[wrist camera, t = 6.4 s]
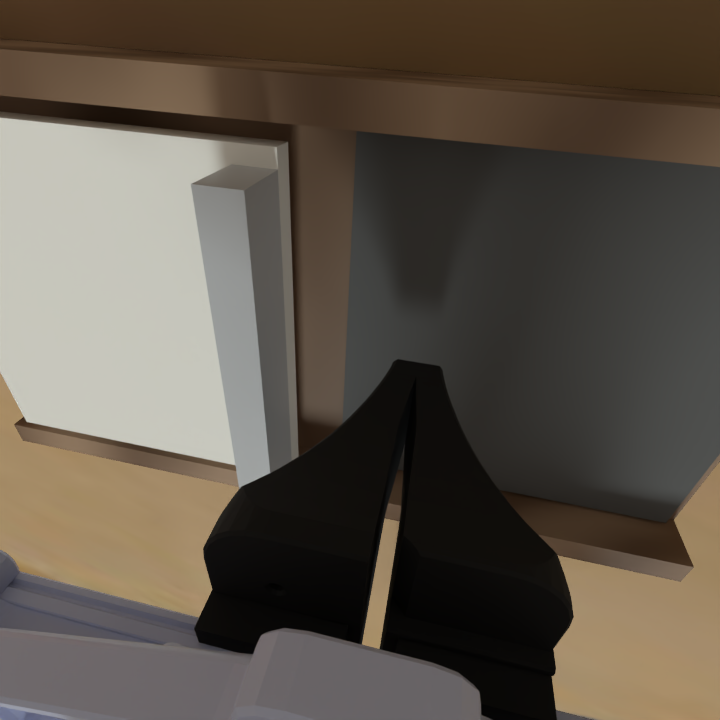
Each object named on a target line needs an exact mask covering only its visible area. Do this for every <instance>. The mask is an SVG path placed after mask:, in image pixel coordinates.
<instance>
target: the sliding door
mask: <svg viewBox="0 0 720 720" xmlns="http://www.w3.org/2000/svg"><path fill="white" fill-rule="evenodd" d="M0 372H1V374H2V376H3V378H4V380H5V382H6V384H7V386H8V387H9V389H10V391H11V393H12V395H13V397H14V399H15V401H16V403H17V405H18V406H19V408H20V410H21V412H22V414H23V416H24V418H25V420H26V422H30V423H35V424H39V425H44V426H49V427H54V428H59V429H63V430H68V431H73V432H78V433H83V434H88V435H92V436H97V437H102V438H107V439H112V440H116V441H121V442H126V443H131V444H136V445H140V446H145V447H150V448H155V449H160V450H164V451H169V452H174V453H179V454H184V455H188V456H193V457H198V458H203V459H208V460H212V461H217V462H222V463H227V464H232V465H235V466H236V472H237V478H238V484H239V489H240V488H241V487H242V486H244V485H246V484H248V483H250V482H253V481H255V480H257V479H259V478H261V477H263V476H265V475H267V474H269V473H271V472H273V471H275V470H277V469H279V468H280V467H282V466H284V465H285V464H287V463H289V462H290V461H292V460H294V459H295V458H297V457H299V454H298V424H297V395H296V365H295V335H294V306H293V276H292V246H291V217H290V187H289V158H288V142H287V141H278V140H268V139H259V138H249V137H239V136H230V135H220V134H211V133H201V132H192V131H182V130H173V129H163V128H153V127H144V126H134V125H125V124H115V123H106V122H96V121H87V120H77V119H67V118H58V117H48V116H39V115H29V114H20V113H10V112H1V111H0Z"/></svg>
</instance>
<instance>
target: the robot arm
mask: <svg viewBox="0 0 720 720" xmlns="http://www.w3.org/2000/svg"><path fill="white" fill-rule="evenodd" d="M404 446H405V448H404ZM403 449H404V464H403V481H402V498H401V513H400V523H399V530H398V536H397V543H396V549H395V556H394V562H393V568H392V575H391V581H390V587H389V594H388V600H387V606H386V613H385V619H384V625H383V632H382V638H381V644H380V649H377V648H373V647H369V646H365V645H362V640H363V634H364V628H365V623H366V617H367V612H368V606H369V600H370V595H371V589H372V584H373V578H374V572H375V567H376V561H377V556H378V550H379V545H380V539H381V534H382V528H383V523H384V518H385V514H386V510H387V506H388V502H389V499H390V495H391V492H392V488H393V485H394V481H395V478H396V474H397V471H398V467H399V463H400V460H401V456H402V453H403ZM203 550H204V560H205V563H206V567H207V571H208V574H209V578H210V582H211V586H212V589H213V590H212V592H211V594H210V596H209V598H208V600H207V602H206V604H205V607H204V609H203V611H202V613H201V615H200V617H199V618H198V617H194V616H190V615H186V614H182V613H179V612H175V611H171V610H167V609H163V608H159V607H155V606H152V605H148V604H144V603H140V602H136V601H132V600H128V599H125V598H121V597H117V596H113V595H109V594H105V593H101V592H97V591H94V590H90V589H86V588H82V587H78V586H74V585H70V584H67V583H63V582H59V581H55V580H51V579H47V578H43V577H40V576H36V575H32V574H28V573H24V572H20V571H19V568H18V566H17V564H16V562H15V561H14V560H13V558H11V557H10V556H9V555H8V554H7V553H5V552H3V551H2V550H0V720H592V719H588V718H584V717H580V716H576V715H573V714H569V713H565V712H561V711H557V710H556V708H555V700H554V692H553V685H552V677H551V676H553V675H554V674H555V670H556V666H555V659H554V651H553V648H554V647H555V646H556V644H557V643H558V642H559V640H560V639H561V637H562V636H563V635H564V633H565V632H566V631H567V629H568V628H569V626H570V624H571V622H572V619H573V617H574V616H573V610H572V602H571V596H570V592H569V588H568V585H567V582H566V579H565V575H564V572H563V569H562V567H561V564H560V561H559V558H558V556H557V553H556V552H555V551H554V550H553V549H552V548H551V547H550V546H549V545H548V544H547V543H546V542H545V541H544V540H543V539H542V538H541V537H540V536H539V535H538V534H537V533H536V532H535V531H534V530H533V529H532V528H531V527H530V526H529V525H528V524H527V523H526V522H525V521H524V520H523V519H522V517H521V516H520V515H519V514H518V513H517V512H516V511H515V509H514V508H513V507H512V506H511V504H510V503H509V502H508V501H507V499H506V498H505V497H504V495H503V494H502V493H501V491H500V490H499V489H498V487H497V486H496V485H495V484H494V482H493V481H492V479H491V478H490V476H489V475H488V473H487V472H486V470H485V469H484V467H483V466H482V464H481V463H480V461H479V459H478V458H477V456H476V454H475V453H474V451H473V449H472V447H471V445H470V444H469V442H468V440H467V438H466V436H465V434H464V432H463V430H462V427H461V425H460V423H459V421H458V419H457V416H456V413H455V411H454V408H453V406H452V403H451V401H450V398H449V395H448V391H447V388H446V384H445V380H444V376H443V370H442V368H441V367H440V366H437V365H431V364H425V363H419V362H413V361H407V360H401V359H397V360H395V361H394V362H393V363H392V366H391V367H390V369H389V371H388V372H387V374H386V375H385V377H384V378H383V379H382V381H381V382H380V384H379V385H378V386H377V387H376V389H375V390H374V391H373V392H372V393H371V395H370V396H369V397H368V398H367V399H366V400H365V402H364V403H363V404H362V405H361V406H360V407H359V408H358V409H357V410H356V411H355V412H354V413H353V414H352V415H351V416H350V417H349V418H348V419H347V420H346V421H345V422H344V423H343V424H341V425H340V426H339V427H338V428H337V429H336V430H334V431H333V432H332V433H331V434H330V435H328V436H327V437H326V438H324V439H323V440H322V441H320V442H319V443H318V444H316V445H315V446H314V447H312V448H311V449H309V450H308V451H307V452H305V453H304V454H302V455H300V456H299V457H297V458H295V459H294V460H292V461H290V462H289V463H287V464H285V465H284V466H282V467H280V468H279V469H277V470H275V471H273V472H271V473H269V474H267V475H265V476H263V477H261V478H259V479H257V480H255V481H253V482H250V483H248V484H246V485H244V486H242V487H241V488H240V489H239V490H238V492H237V493H236V494H235V495H234V497H233V498H232V499H231V501H230V502H229V504H228V505H227V507H226V508H225V509H224V511H223V512H222V514H221V515H220V517H219V519H218V521H217V523H216V524H215V526H214V528H213V530H212V532H211V534H210V536H209V538H208V540H207V542H206V544H205V546H204V548H203Z"/></svg>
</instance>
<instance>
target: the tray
mask: <svg viewBox="0 0 720 720" xmlns="http://www.w3.org/2000/svg"><path fill="white" fill-rule="evenodd" d="M0 111H1V112H10V113H20V114H29V115H39V116H48V117H58V118H67V119H77V120H87V121H96V122H106V123H115V124H125V125H134V126H144V127H153V128H163V129H173V130H182V131H192V132H201V133H211V134H220V135H230V136H239V137H249V138H259V139H268V140H278V141H287V142H288V158H289V187H290V217H291V246H292V276H293V306H294V335H295V365H296V395H297V424H298V454H299V456H300V455H302V454H304V453H305V452H307V451H308V450H309V449H311V448H312V447H314V446H315V445H316V444H318V443H319V442H320V441H322V440H323V439H324V438H326V437H327V436H328V435H330V434H331V433H332V432H333V431H334V430H336V429H337V428H338V427H339V426H340V425H341V424H342V422H343V401H344V380H345V360H346V339H347V318H348V297H349V277H350V256H351V235H352V215H353V194H354V173H355V152H356V132H357V131H362V132H372V133H382V134H393V135H403V136H413V137H423V138H433V139H443V140H453V141H463V142H473V143H483V144H493V145H503V146H513V147H523V148H534V149H544V150H554V151H564V152H574V153H584V154H594V155H604V156H614V157H624V158H634V159H644V160H654V161H664V162H675V163H685V164H695V165H705V166H715V167H720V96H709V95H697V94H684V93H672V92H659V91H647V90H634V89H622V88H609V87H597V86H584V85H572V84H559V83H547V82H534V81H522V80H509V79H497V78H484V77H472V76H459V75H447V74H434V73H422V72H409V71H397V70H384V69H372V68H359V67H347V66H334V65H322V64H309V63H297V62H284V61H272V60H259V59H247V58H234V57H222V56H209V55H197V54H184V53H172V52H159V51H147V50H134V49H122V48H109V47H97V46H84V45H72V44H59V43H47V42H34V41H22V40H9V39H0ZM14 425H15V427H16V429H17V431H18V432H19V434H20V436H21V438H22V440H23V441H28V442H32V443H37V444H42V445H46V446H51V447H56V448H60V449H65V450H70V451H74V452H79V453H84V454H88V455H93V456H98V457H102V458H107V459H111V460H116V461H121V462H125V463H130V464H135V465H139V466H144V467H149V468H153V469H158V470H163V471H167V472H172V473H177V474H181V475H186V476H191V477H195V478H200V479H205V480H209V481H214V482H219V483H223V484H228V485H233V486H237V487H239V484H238V478H237V472H236V466H235V465H232V464H227V463H222V462H217V461H212V460H208V459H203V458H198V457H193V456H188V455H184V454H179V453H174V452H169V451H164V450H160V449H155V448H150V447H145V446H140V445H136V444H131V443H126V442H121V441H116V440H112V439H107V438H102V437H97V436H92V435H88V434H83V433H78V432H73V431H68V430H63V429H59V428H54V427H49V426H44V425H39V424H35V423H30V422H26V420H25V418H24V417H23V418H22V419H21V420H19V421H18V422H17V423H16V424H14ZM719 462H720V454H719V456H718V457H717V458H716V459H715V461H714V462H713V463H712V465H711V466H710V467H709V468H708V470H707V471H706V472H705V474H704V475H703V476H702V477H701V479H700V480H699V481H698V483H697V484H696V485H695V486H694V488H693V489H692V490H691V492H690V493H689V494H688V495H687V497H686V498H685V499H684V500H683V502H682V503H681V504H680V506H679V507H678V508H677V509H676V511H675V512H674V513H673V515H672V516H671V517H670V518H669V520H668V521H667V522H666V523H664V522H659V521H654V520H648V519H643V518H638V517H633V516H628V515H623V514H618V513H613V512H608V511H603V510H598V509H593V508H588V507H583V506H578V505H573V504H568V503H563V502H558V501H553V500H548V499H543V498H538V497H533V496H528V495H523V494H518V493H513V492H508V491H503V490H500V491H501V493H502V494H503V495H504V497H505V498H506V499H507V501H508V502H509V503H510V504H511V506H512V507H513V508H514V509H515V511H516V512H517V513H518V514H519V515H520V516H521V517H522V519H523V520H524V521H525V522H526V523H527V524H528V525H529V526H530V527H531V528H532V529H533V530H534V531H535V532H536V533H537V534H538V535H539V536H540V537H541V538H542V539H543V540H544V541H545V542H546V543H547V544H548V545H549V546H550V547H551V548H552V549H553V550H554V551H555V552H556V553H557V555H559V556H563V557H568V558H573V559H577V560H582V561H587V562H591V563H596V564H601V565H605V566H610V567H615V568H619V569H624V570H629V571H633V572H638V573H643V574H647V575H652V576H656V577H661V578H666V579H670V580H675V581H680V582H681V581H682V579H683V578H684V577H685V576H686V575H687V574H688V573H689V572H690V571H691V570H692V569H693V568H694V567H693V564H692V562H691V560H690V557H689V555H688V553H687V550H686V548H685V546H684V543H683V541H682V539H681V536H680V534H679V532H678V529H677V527H676V525H675V522H674V519H675V517H676V516H677V515H678V514H679V512H680V511H681V510H682V509H683V507H684V506H685V505H686V504H687V502H688V501H689V500H690V499H691V497H692V496H693V495H694V493H695V492H696V491H697V490H698V488H699V487H700V486H701V485H702V483H703V482H704V481H705V480H706V478H707V477H708V476H709V475H710V473H711V472H712V471H713V469H714V468H715V467H716V466H717V464H718V463H719ZM402 481H403V470H398V471H397V474H396V478H395V481H394V485H393V488H392V492H391V495H390V499H389V502H388V506H387V510H386V514H385V518H386V519H391V520H396V521H400V513H401V498H402Z"/></svg>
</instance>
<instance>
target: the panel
mask: <svg viewBox="0 0 720 720" xmlns="http://www.w3.org/2000/svg"><path fill="white" fill-rule="evenodd" d="M397 359H401V360H407V361H413V362H419V363H425V364H431V365H437V366H440V367H441V368H442V370H443V376H444V380H445V384H446V388H447V391H448V395H449V398H450V401H451V403H452V406H453V408H454V411H455V413H456V416H457V419H458V421H459V423H460V425H461V427H462V430H463V432H464V434H465V436H466V438H467V440H468V442H469V444H470V445H471V447H472V449H473V451H474V453H475V454H476V456H477V458H478V459H479V461H480V463H481V464H482V466H483V467H484V469H485V470H486V472H487V473H488V475H489V476H490V478H491V479H492V481H493V482H494V484H495V485H496V486H497V487H498V489H499V490H503V491H508V492H513V493H518V494H523V495H528V496H533V497H538V498H543V499H548V500H553V501H558V502H563V503H568V504H573V505H578V506H583V507H588V508H593V509H598V510H603V511H608V512H613V513H618V514H623V515H628V516H633V517H638V518H643V519H648V520H654V521H659V522H664V523H666V522H667V521H668V520H669V518H670V517H671V516H672V515H673V513H674V512H675V511H676V509H677V508H678V507H679V506H680V504H681V503H682V502H683V500H684V499H685V498H686V497H687V495H688V494H689V493H690V492H691V490H692V489H693V488H694V486H695V485H696V484H697V483H698V481H699V480H700V479H701V477H702V476H703V475H704V474H705V472H706V471H707V470H708V468H709V467H710V466H711V465H712V463H713V462H714V461H715V459H716V458H717V457H718V456H719V454H720V167H715V166H705V165H695V164H685V163H675V162H664V161H654V160H644V159H634V158H624V157H614V156H604V155H594V154H584V153H574V152H564V151H554V150H544V149H534V148H523V147H513V146H503V145H493V144H483V143H473V142H463V141H453V140H443V139H433V138H423V137H413V136H403V135H393V134H382V133H372V132H362V131H357V132H356V152H355V173H354V194H353V215H352V235H351V256H350V277H349V297H348V318H347V339H346V360H345V380H344V401H343V422H342V424H343V423H344V422H345V421H346V420H347V419H348V418H349V417H350V416H351V415H352V414H353V413H354V412H355V411H356V410H357V409H358V408H359V407H360V406H361V405H362V404H363V403H364V402H365V400H366V399H367V398H368V397H369V396H370V395H371V393H372V392H373V391H374V390H375V389H376V387H377V386H378V385H379V384H380V382H381V381H382V379H383V378H384V377H385V375H386V374H387V372H388V371H389V369H390V367H391V366H392V363H393V362H394V361H395V360H397ZM404 448H405V446H404ZM403 464H404V449H403V453H402V456H401V460H400V463H399V467H398V470H403Z"/></svg>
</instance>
